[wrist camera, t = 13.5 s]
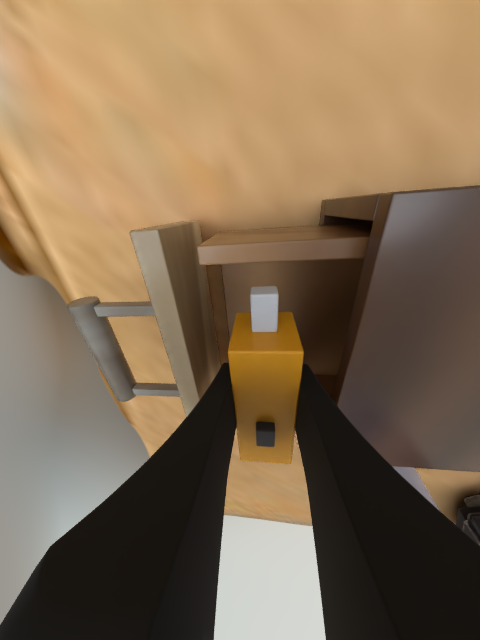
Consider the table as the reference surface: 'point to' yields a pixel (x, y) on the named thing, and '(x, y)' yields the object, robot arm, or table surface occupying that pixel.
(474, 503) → the camera
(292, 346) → the box cutter
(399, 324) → the cabinet
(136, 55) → the table surface
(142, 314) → the drawer
